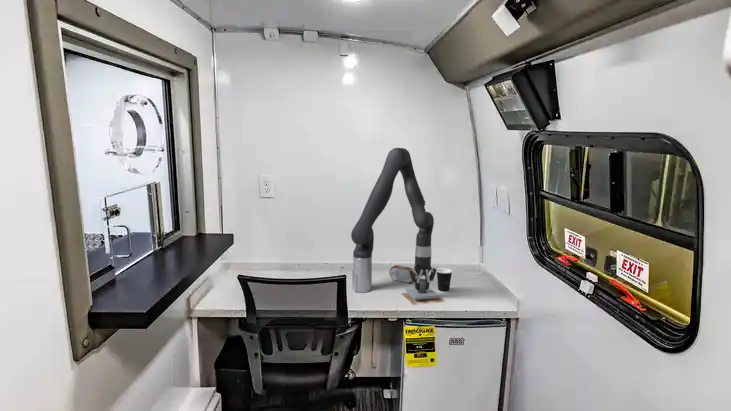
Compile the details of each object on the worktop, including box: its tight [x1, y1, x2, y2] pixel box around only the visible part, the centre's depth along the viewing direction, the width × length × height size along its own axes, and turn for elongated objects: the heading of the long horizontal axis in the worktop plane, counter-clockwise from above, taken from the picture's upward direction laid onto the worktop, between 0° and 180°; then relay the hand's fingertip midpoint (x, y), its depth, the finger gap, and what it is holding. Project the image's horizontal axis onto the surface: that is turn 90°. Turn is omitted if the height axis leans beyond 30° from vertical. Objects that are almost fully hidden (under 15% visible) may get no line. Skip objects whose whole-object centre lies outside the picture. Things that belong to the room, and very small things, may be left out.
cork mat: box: [400, 292, 446, 306], centre depth 222 cm, size 16×16×1 cm
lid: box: [405, 278, 440, 300], centre depth 221 cm, size 12×12×7 cm
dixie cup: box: [436, 267, 453, 294], centre depth 231 cm, size 8×8×11 cm
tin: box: [389, 264, 416, 284], centre depth 247 cm, size 15×3×8 cm, turn 58°
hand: (422, 289), depth 221 cm, fingers closed on lid, 4 cm apart
